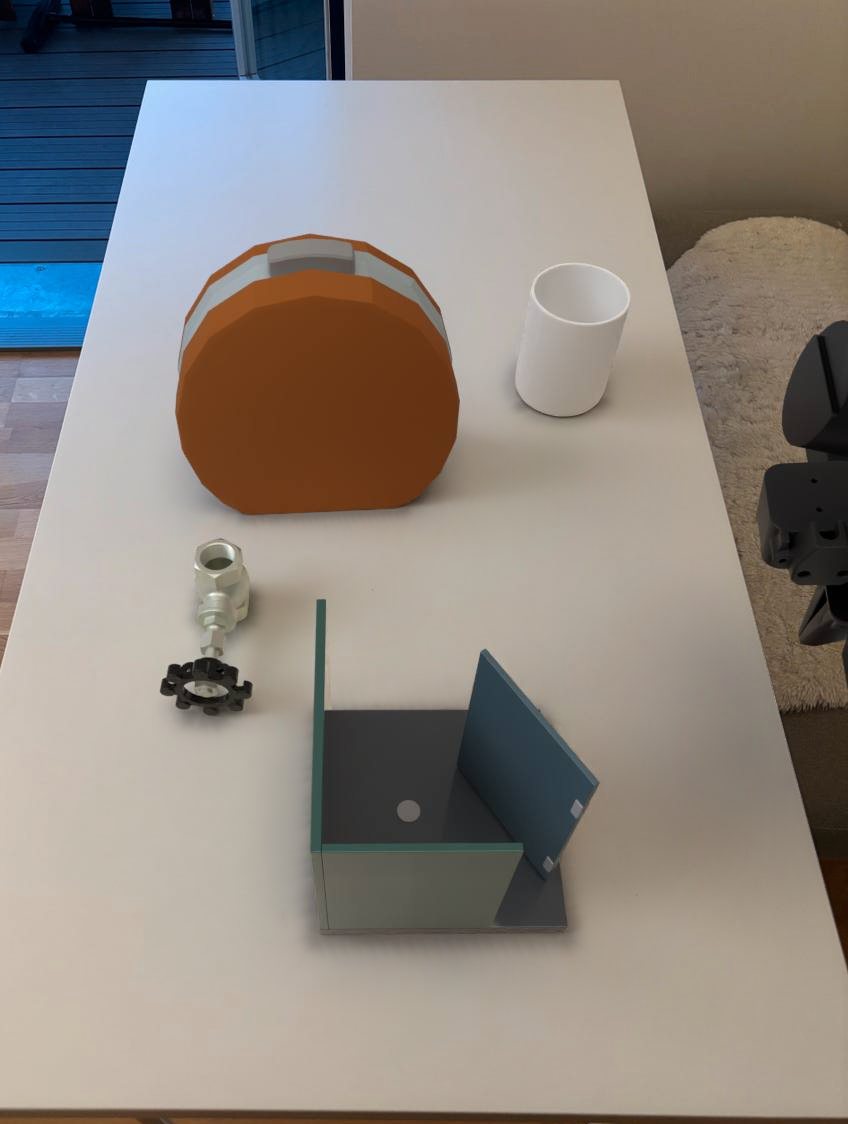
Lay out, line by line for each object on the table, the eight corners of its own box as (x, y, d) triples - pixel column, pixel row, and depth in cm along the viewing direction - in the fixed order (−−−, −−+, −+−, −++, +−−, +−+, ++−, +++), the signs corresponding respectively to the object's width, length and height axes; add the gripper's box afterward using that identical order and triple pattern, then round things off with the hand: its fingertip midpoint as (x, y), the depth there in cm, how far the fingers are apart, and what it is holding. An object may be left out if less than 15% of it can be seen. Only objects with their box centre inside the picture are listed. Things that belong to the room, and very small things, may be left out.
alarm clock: (437, 425, 85) (460, 193, 66) (449, 505, 80) (479, 278, 61) (198, 435, 84) (152, 202, 65) (195, 517, 79) (143, 290, 60)
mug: (582, 333, 92) (607, 236, 84) (613, 416, 86) (642, 321, 77) (499, 339, 92) (514, 242, 83) (523, 423, 85) (542, 327, 76)
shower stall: (537, 716, 68) (578, 598, 56) (564, 932, 60) (620, 851, 47) (323, 717, 68) (316, 598, 56) (319, 934, 60) (309, 852, 47)
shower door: (476, 752, 65) (504, 637, 52) (565, 866, 61) (620, 769, 48) (454, 765, 64) (478, 651, 52) (543, 881, 60) (593, 787, 47)
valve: (190, 585, 75) (167, 714, 68) (177, 533, 69) (150, 668, 63) (271, 588, 75) (255, 717, 68) (264, 536, 69) (246, 672, 63)
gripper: (799, 315, 49) (675, 504, 62) (853, 594, 39) (691, 749, 52) (995, 358, 50) (831, 536, 63) (1098, 643, 40) (877, 785, 53)
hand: (805, 640), depth 58 cm, fingers closed
